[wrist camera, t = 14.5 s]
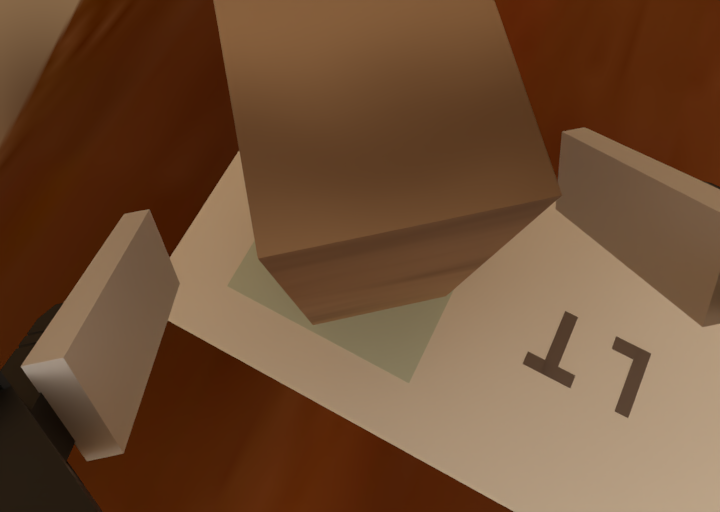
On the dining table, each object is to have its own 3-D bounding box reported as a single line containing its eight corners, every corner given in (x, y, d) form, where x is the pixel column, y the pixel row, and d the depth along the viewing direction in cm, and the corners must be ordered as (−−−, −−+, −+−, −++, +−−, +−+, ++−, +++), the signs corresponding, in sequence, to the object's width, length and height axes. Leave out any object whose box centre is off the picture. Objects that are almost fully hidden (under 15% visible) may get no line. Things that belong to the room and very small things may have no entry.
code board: (297, 69, 24) (296, 60, 24) (788, 299, 22) (803, 297, 21) (145, 306, 21) (138, 304, 21) (697, 611, 18) (710, 620, 18)
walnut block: (288, 198, 22) (213, -3, 10) (413, 173, 22) (477, -49, 11) (313, 325, 20) (257, 258, 9) (446, 296, 21) (562, 195, 9)
